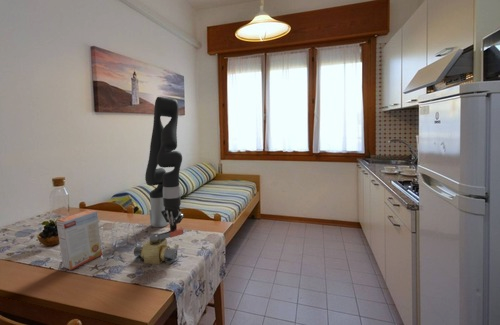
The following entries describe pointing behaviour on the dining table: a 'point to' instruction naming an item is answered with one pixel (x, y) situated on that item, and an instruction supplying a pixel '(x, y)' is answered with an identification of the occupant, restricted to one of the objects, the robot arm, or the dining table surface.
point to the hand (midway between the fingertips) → (173, 231)
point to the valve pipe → (155, 252)
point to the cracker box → (79, 238)
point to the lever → (165, 235)
